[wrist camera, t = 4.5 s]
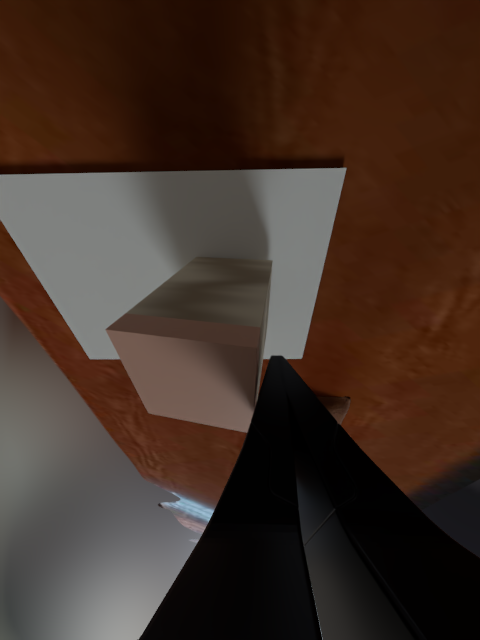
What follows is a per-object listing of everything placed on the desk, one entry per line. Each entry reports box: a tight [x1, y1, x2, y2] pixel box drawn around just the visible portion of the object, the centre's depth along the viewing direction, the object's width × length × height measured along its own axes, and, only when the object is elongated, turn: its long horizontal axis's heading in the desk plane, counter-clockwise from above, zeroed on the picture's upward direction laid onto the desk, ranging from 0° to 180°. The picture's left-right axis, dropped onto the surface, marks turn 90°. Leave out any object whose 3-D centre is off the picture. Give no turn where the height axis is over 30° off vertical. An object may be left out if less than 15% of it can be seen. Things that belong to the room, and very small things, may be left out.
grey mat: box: [0, 168, 346, 359], centre depth 14 cm, size 20×14×1 cm
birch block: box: [105, 257, 273, 432], centre depth 11 cm, size 5×5×8 cm
